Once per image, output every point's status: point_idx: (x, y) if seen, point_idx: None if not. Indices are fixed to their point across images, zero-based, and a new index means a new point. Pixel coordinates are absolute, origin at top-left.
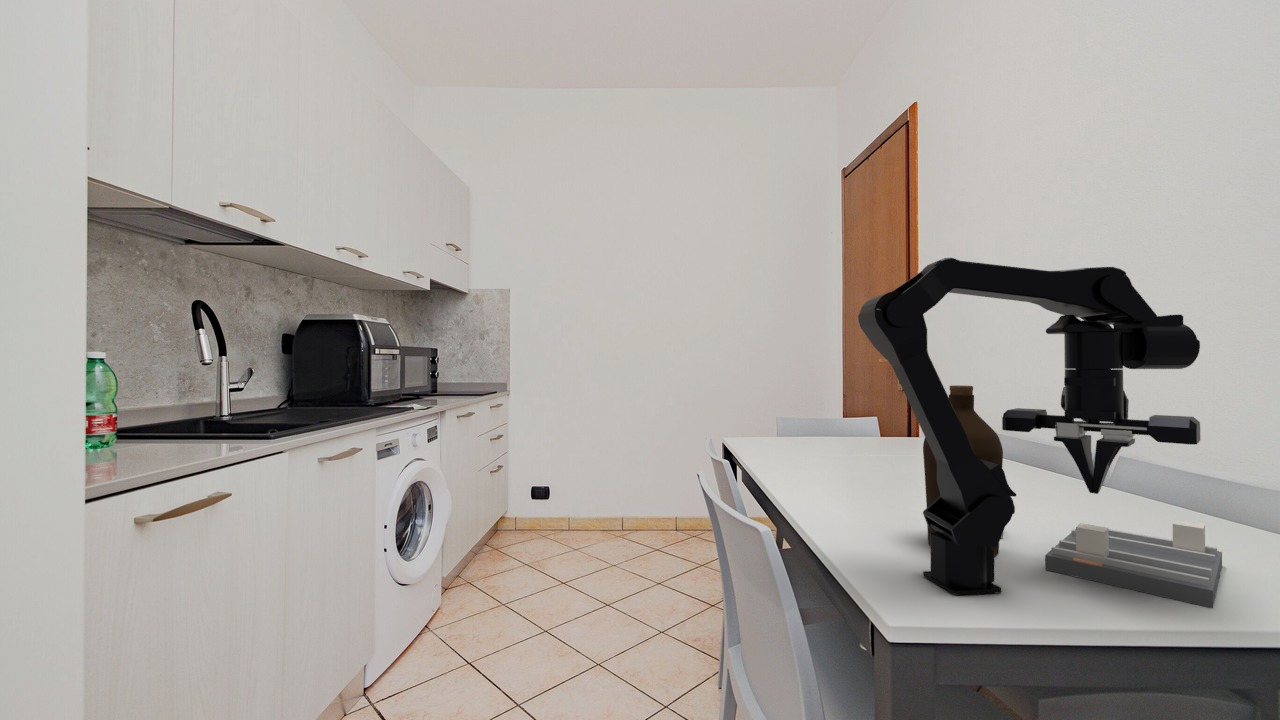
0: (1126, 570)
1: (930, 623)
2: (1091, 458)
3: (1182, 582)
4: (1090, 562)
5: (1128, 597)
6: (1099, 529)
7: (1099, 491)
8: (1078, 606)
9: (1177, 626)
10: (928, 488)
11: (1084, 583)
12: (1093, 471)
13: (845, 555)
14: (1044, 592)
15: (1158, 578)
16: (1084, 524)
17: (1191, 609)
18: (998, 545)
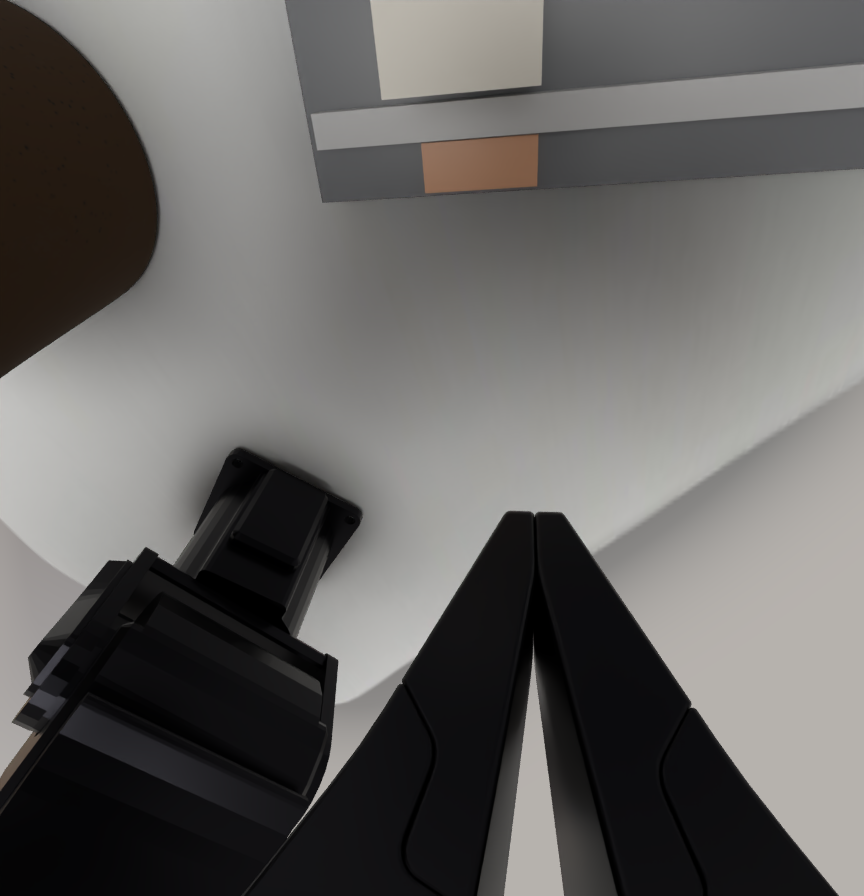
0: (632, 147)
1: (359, 685)
2: (496, 822)
3: (856, 135)
4: (491, 174)
5: (628, 281)
6: (505, 19)
7: (564, 517)
8: (519, 467)
9: (742, 432)
10: None
11: (489, 242)
12: (523, 665)
13: (12, 520)
14: (427, 430)
15: (757, 160)
16: None
17: (821, 237)
18: (115, 144)
